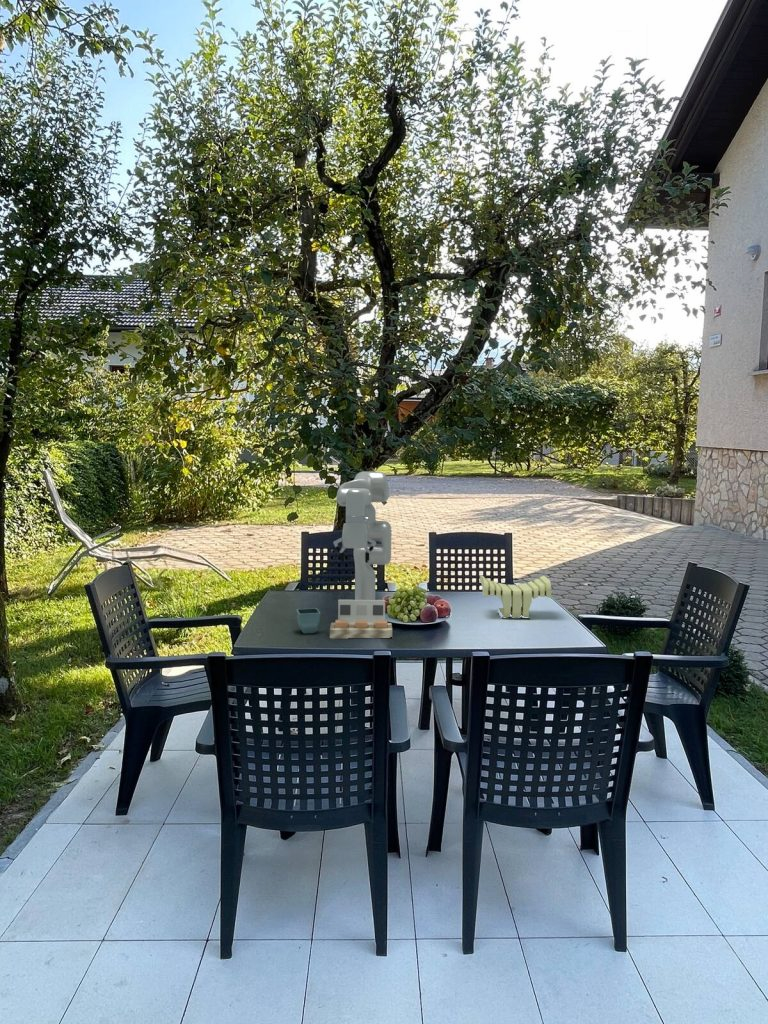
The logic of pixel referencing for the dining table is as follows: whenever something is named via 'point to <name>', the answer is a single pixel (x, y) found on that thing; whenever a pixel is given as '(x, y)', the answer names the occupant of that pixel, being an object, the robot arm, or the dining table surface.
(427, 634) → the dining table surface
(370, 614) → the pattern sign
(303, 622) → the flower pot
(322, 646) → the dining table surface
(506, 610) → the slatted curved stool
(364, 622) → the middle key
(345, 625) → the key
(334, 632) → the key board
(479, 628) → the dining table surface
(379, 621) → the key
